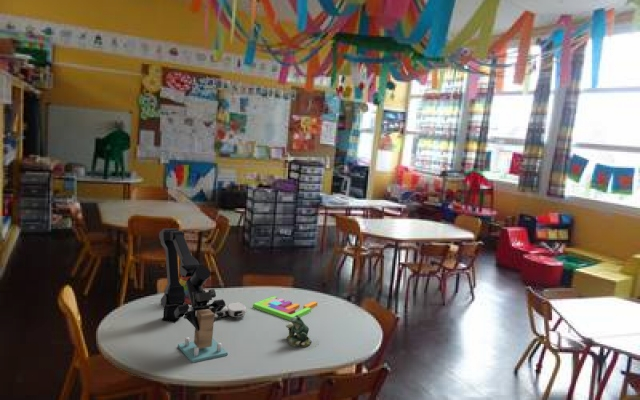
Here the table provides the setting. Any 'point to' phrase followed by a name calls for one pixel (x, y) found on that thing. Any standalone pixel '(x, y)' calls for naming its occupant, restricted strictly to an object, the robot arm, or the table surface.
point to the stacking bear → (185, 289)
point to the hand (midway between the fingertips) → (205, 329)
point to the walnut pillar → (204, 328)
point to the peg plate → (201, 351)
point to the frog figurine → (298, 333)
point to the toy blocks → (283, 307)
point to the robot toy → (232, 310)
